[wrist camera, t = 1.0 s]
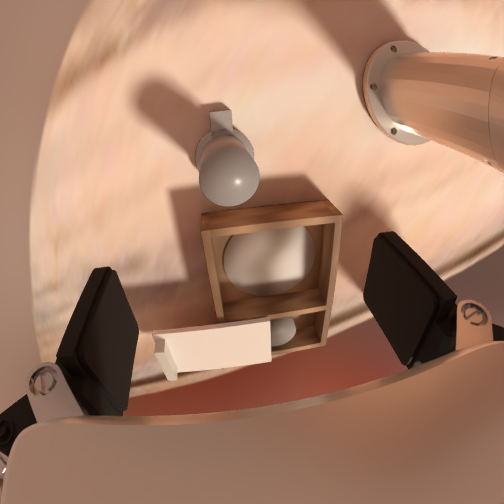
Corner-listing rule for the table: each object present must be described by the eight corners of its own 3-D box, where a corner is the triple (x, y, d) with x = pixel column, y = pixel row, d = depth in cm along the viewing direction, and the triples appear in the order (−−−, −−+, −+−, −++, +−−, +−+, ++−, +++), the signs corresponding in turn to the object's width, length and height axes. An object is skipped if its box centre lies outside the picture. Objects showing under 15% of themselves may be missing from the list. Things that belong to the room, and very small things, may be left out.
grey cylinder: (249, 108, 25) (264, 114, 18) (254, 178, 29) (269, 209, 22) (190, 114, 25) (182, 122, 18) (199, 185, 28) (196, 218, 22)
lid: (269, 316, 33) (273, 333, 31) (270, 357, 38) (274, 372, 35) (152, 330, 32) (150, 347, 30) (169, 368, 37) (169, 384, 34)
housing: (328, 199, 31) (342, 214, 28) (317, 325, 42) (325, 345, 39) (201, 213, 30) (200, 231, 27) (224, 340, 41) (226, 361, 37)
